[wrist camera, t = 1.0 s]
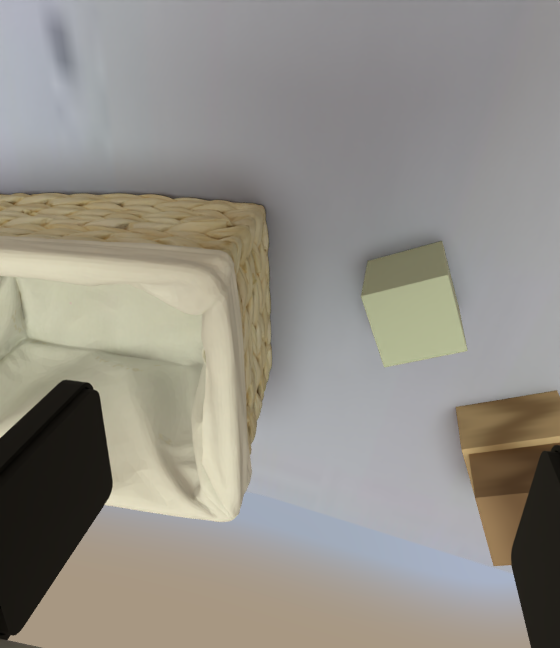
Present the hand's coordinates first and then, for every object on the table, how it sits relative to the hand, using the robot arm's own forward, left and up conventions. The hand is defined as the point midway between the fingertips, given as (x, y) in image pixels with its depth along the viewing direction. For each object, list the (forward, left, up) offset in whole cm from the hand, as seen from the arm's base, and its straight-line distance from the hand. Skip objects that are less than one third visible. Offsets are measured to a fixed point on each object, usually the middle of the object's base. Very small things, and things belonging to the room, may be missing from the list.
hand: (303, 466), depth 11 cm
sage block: (-1, +7, -26) cm, 27 cm away
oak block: (-5, +21, -26) cm, 34 cm away
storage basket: (+19, +2, -26) cm, 33 cm away
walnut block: (-5, +21, -21) cm, 30 cm away
